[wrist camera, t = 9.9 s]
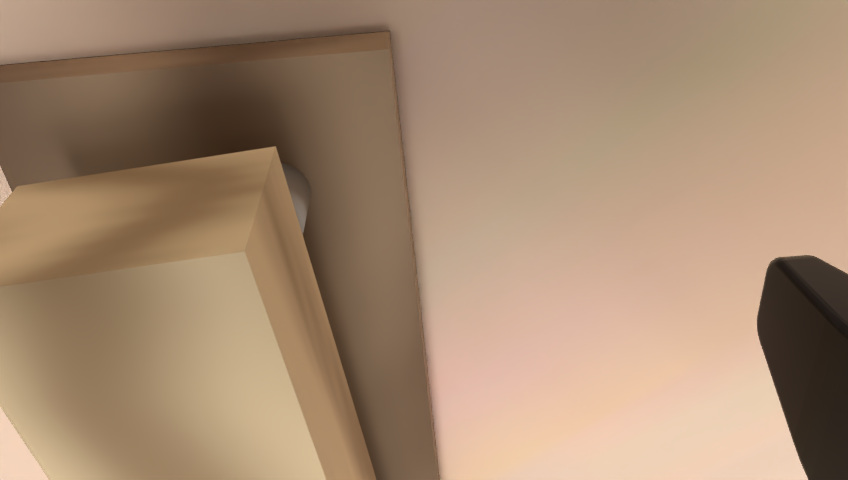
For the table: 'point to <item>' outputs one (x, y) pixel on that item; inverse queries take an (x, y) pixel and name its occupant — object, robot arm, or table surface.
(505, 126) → the table surface
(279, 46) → the peg stand
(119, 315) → the beige wooden block
